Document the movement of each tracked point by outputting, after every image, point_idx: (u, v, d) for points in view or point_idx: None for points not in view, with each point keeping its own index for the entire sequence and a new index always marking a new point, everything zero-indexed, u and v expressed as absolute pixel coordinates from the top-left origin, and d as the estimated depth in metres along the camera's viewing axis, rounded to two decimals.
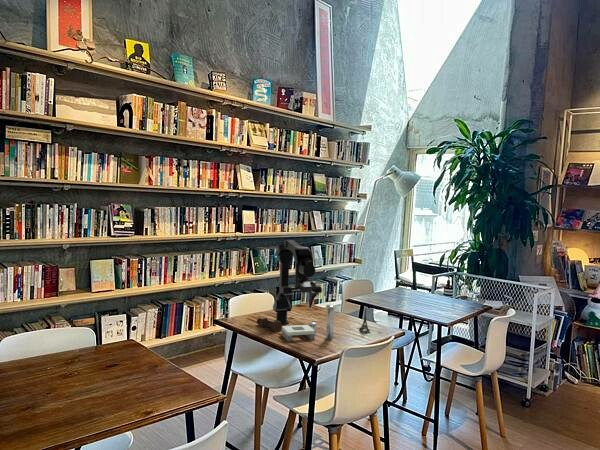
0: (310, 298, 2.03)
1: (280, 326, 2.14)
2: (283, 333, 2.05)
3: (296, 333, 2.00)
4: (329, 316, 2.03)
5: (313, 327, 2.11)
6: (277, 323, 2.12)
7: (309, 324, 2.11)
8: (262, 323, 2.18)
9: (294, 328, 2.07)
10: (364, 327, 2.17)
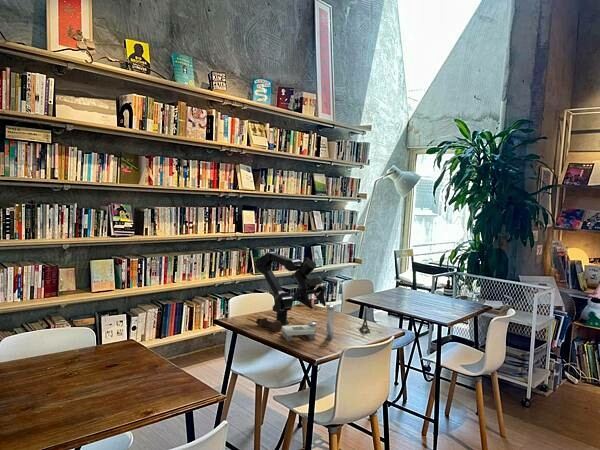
0: (320, 298, 2.15)
1: (280, 326, 2.13)
2: (283, 333, 2.05)
3: (296, 333, 2.00)
4: (329, 316, 2.03)
5: (313, 327, 2.11)
6: (277, 323, 2.12)
7: (309, 324, 2.11)
8: (262, 323, 2.18)
9: (294, 328, 2.07)
10: (364, 327, 2.17)
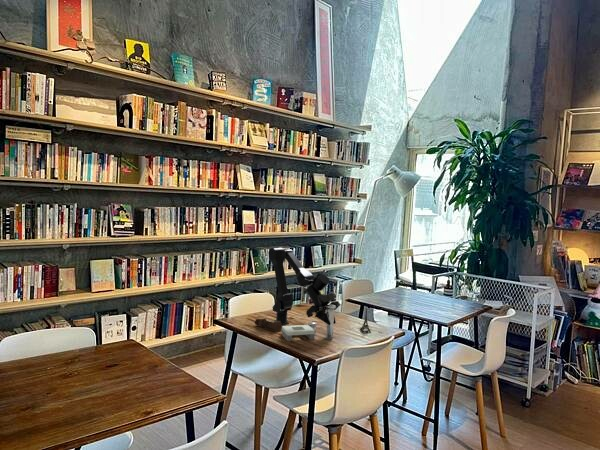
0: None
1: (280, 326, 2.13)
2: (283, 333, 2.05)
3: (296, 333, 2.00)
4: (329, 316, 2.03)
5: (313, 327, 2.11)
6: (278, 323, 2.12)
7: (309, 324, 2.11)
8: (261, 324, 2.17)
9: (294, 328, 2.07)
10: (365, 327, 2.17)
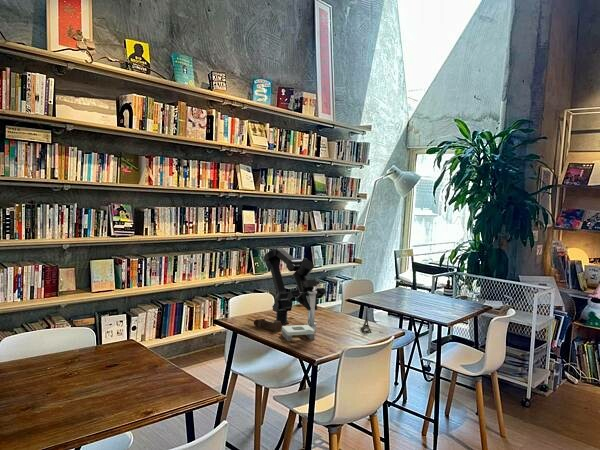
0: None
1: (280, 326, 2.13)
2: (283, 333, 2.05)
3: (296, 333, 2.00)
4: (309, 302, 2.02)
5: (313, 327, 2.11)
6: (278, 323, 2.12)
7: None
8: (261, 324, 2.16)
9: (294, 328, 2.07)
10: (365, 327, 2.17)
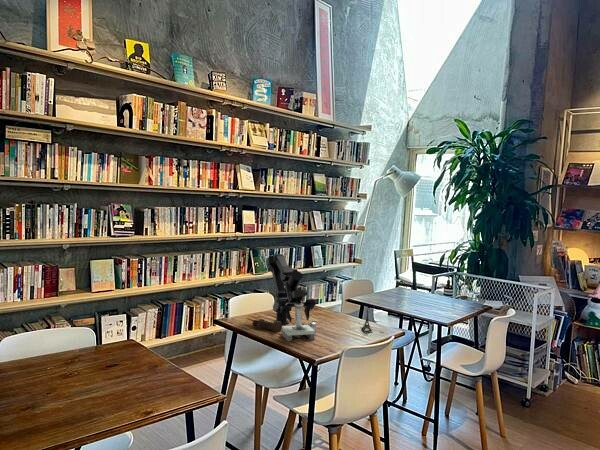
0: (306, 312, 2.08)
1: (280, 326, 2.13)
2: (283, 333, 2.05)
3: (296, 333, 2.00)
4: (296, 314, 2.04)
5: (313, 327, 2.11)
6: (278, 323, 2.12)
7: (309, 324, 2.11)
8: (260, 325, 2.15)
9: (294, 328, 2.07)
10: (366, 327, 2.18)
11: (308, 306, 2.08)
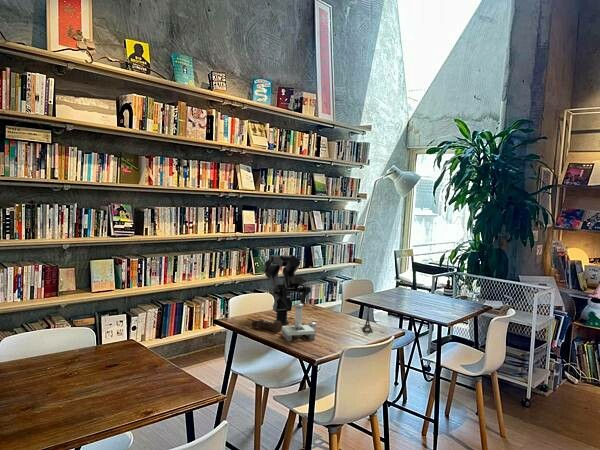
0: (302, 298, 2.14)
1: (281, 326, 2.13)
2: (283, 333, 2.05)
3: (296, 333, 2.00)
4: (296, 314, 2.04)
5: (313, 327, 2.11)
6: (279, 323, 2.12)
7: (309, 324, 2.11)
8: (260, 325, 2.14)
9: (294, 328, 2.07)
10: (367, 327, 2.18)
11: (305, 293, 2.14)
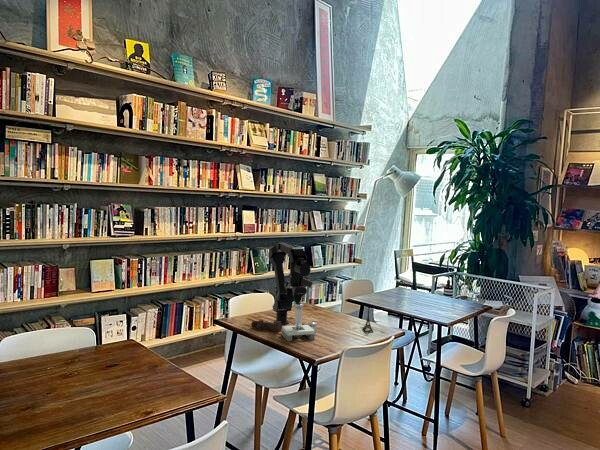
0: (291, 293, 2.19)
1: (281, 326, 2.13)
2: (283, 333, 2.05)
3: (296, 333, 2.00)
4: (296, 314, 2.04)
5: (313, 327, 2.11)
6: (279, 323, 2.12)
7: (309, 324, 2.11)
8: (260, 325, 2.14)
9: (294, 328, 2.07)
10: (367, 326, 2.18)
11: None
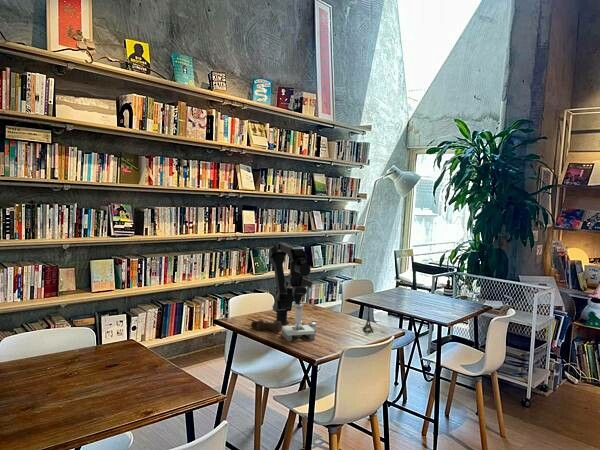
0: (291, 293, 2.19)
1: (281, 326, 2.13)
2: (283, 333, 2.05)
3: (296, 333, 2.00)
4: (296, 314, 2.04)
5: (313, 327, 2.11)
6: (279, 323, 2.12)
7: (309, 324, 2.11)
8: (260, 326, 2.13)
9: (294, 328, 2.07)
10: (367, 326, 2.18)
11: None
